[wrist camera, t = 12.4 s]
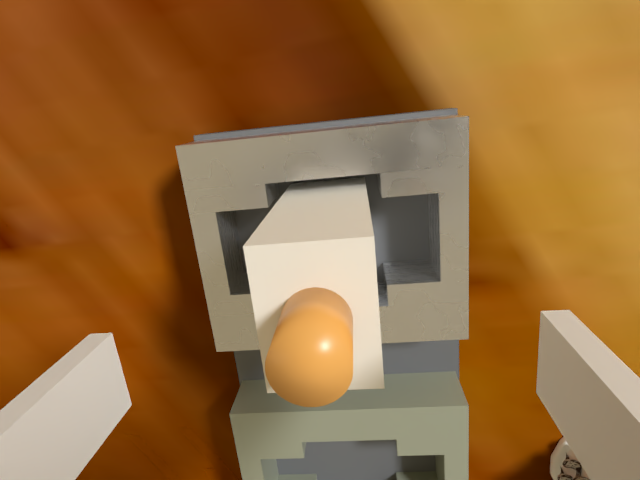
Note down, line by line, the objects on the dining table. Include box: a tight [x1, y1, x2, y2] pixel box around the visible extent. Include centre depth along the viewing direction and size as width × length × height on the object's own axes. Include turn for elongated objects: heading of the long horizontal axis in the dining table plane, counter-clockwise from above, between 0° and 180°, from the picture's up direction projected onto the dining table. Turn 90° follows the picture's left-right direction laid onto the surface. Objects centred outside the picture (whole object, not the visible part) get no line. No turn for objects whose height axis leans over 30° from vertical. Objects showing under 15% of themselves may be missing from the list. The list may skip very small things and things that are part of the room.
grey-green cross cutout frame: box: [229, 371, 469, 480], centre depth 30 cm, size 12×15×4 cm
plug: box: [243, 177, 385, 407], centre depth 20 cm, size 6×4×15 cm
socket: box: [175, 114, 469, 352], centre depth 25 cm, size 12×15×4 cm
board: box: [194, 108, 459, 480], centre depth 30 cm, size 30×16×2 cm, turn 6°
